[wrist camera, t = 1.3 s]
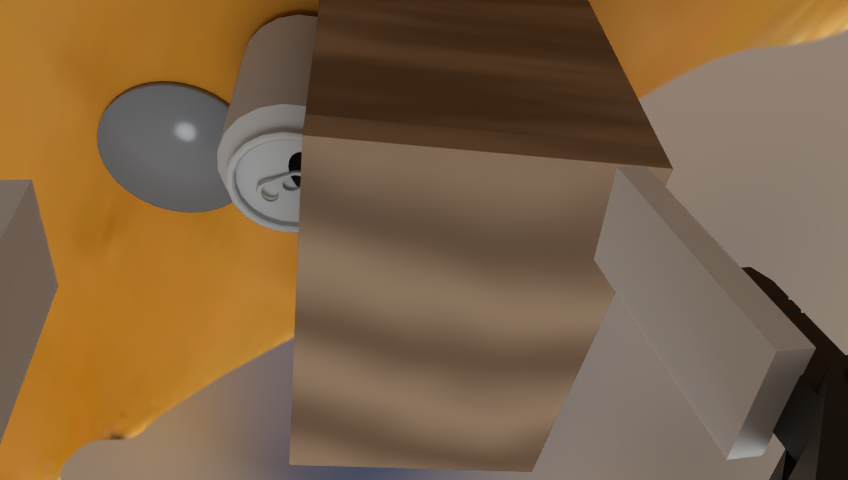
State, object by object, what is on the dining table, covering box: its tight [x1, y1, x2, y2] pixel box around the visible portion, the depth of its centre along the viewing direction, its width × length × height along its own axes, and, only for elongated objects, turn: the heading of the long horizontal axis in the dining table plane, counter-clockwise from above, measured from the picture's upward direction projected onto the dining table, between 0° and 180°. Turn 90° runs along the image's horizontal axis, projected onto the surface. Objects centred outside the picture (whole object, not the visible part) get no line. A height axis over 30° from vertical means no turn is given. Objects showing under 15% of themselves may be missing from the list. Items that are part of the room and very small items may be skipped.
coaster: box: [97, 82, 232, 212], centre depth 47 cm, size 10×10×1 cm
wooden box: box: [289, 0, 673, 472], centre depth 37 cm, size 19×12×21 cm, turn 172°
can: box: [217, 15, 317, 233], centre depth 40 cm, size 8×8×12 cm
